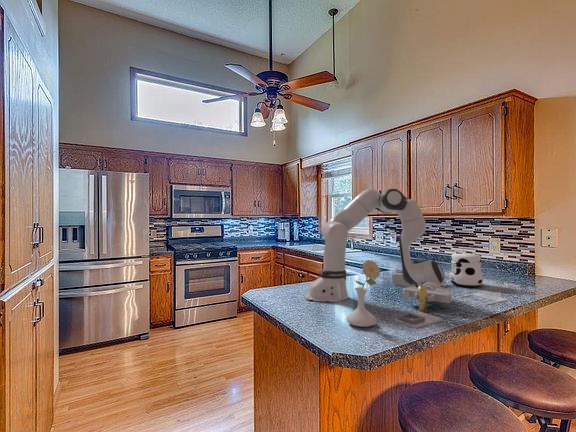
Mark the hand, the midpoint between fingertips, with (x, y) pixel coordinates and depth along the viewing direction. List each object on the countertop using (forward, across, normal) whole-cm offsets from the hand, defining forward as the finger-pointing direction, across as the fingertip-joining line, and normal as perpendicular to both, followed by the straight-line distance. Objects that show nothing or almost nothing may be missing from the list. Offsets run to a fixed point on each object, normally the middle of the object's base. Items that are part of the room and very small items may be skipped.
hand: (422, 298), depth 134 cm
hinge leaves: (+12, +2, +6) cm, 14 cm away
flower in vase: (+29, -14, +6) cm, 33 cm away
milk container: (-69, +7, +6) cm, 70 cm away
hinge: (-44, -21, +6) cm, 50 cm away
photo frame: (-39, +18, +7) cm, 43 cm away
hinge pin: (-1, 0, +6) cm, 6 cm away
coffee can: (-60, -16, +6) cm, 63 cm away
